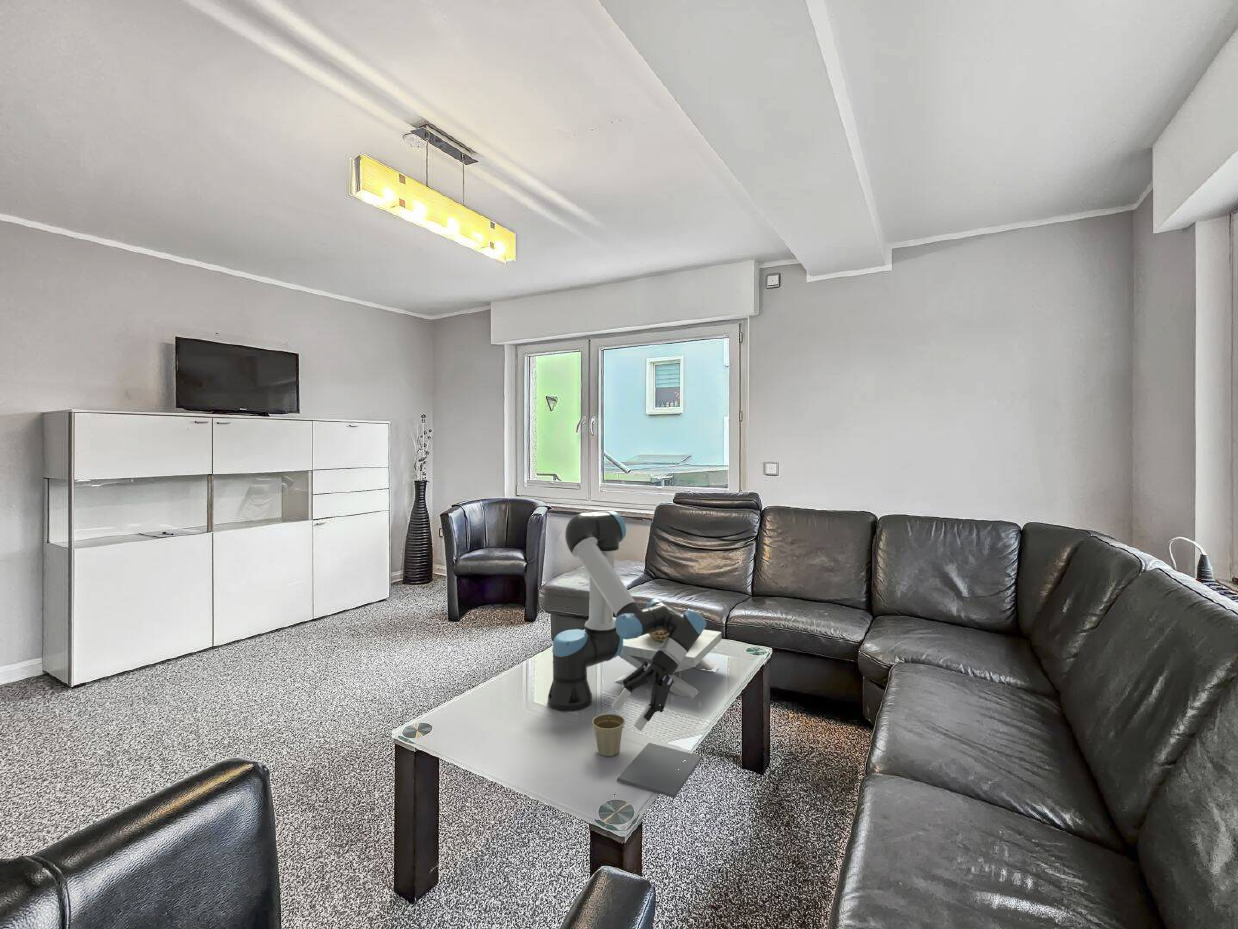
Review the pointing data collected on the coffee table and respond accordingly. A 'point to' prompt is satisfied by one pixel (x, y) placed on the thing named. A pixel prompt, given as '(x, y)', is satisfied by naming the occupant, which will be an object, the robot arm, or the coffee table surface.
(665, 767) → the charcoal mat
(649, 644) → the white x-leg stand
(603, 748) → the flower pot
